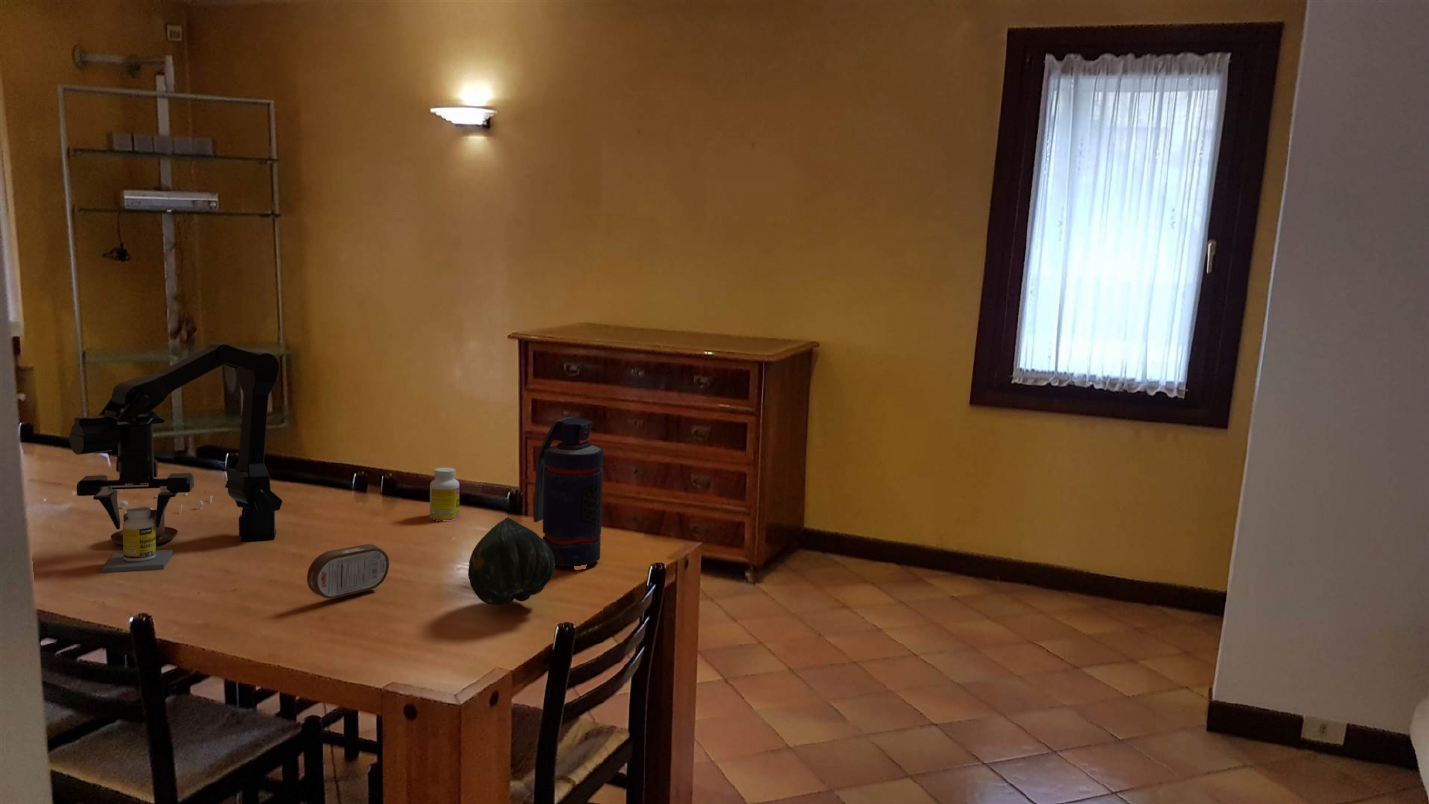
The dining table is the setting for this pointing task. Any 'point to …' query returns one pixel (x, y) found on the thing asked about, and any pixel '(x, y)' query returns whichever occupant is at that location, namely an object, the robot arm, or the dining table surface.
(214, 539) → the dining table surface
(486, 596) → the squash
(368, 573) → the tin
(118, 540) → the cup and saucer
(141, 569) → the charcoal block
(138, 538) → the supplement bottle
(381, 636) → the dining table surface
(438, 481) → the supplement bottle
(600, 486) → the grenade
